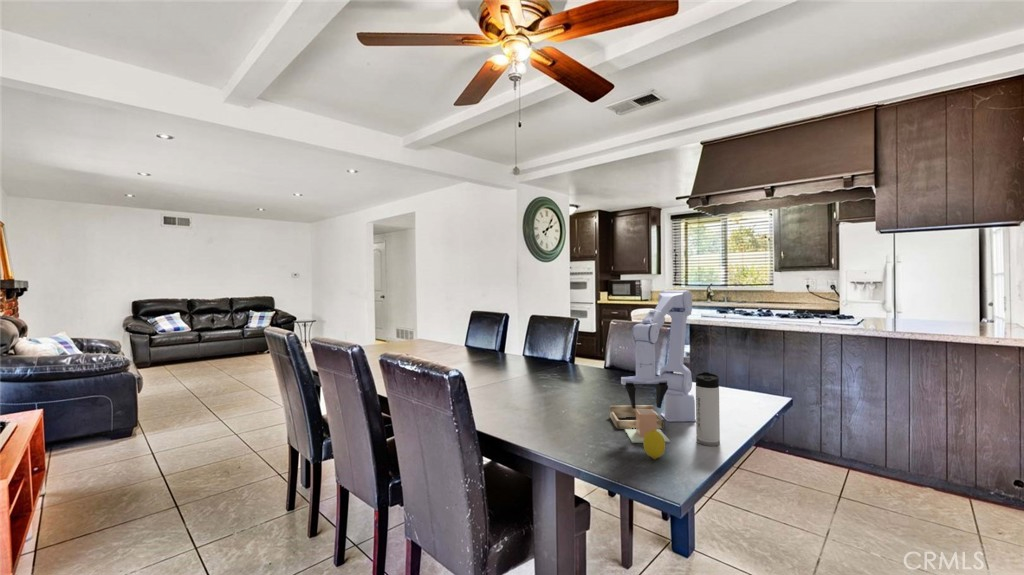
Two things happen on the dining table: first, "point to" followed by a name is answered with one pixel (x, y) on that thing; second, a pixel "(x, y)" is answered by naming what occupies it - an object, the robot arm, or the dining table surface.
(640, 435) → the tan upright block
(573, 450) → the dining table surface
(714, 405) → the travel mug
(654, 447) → the lemon
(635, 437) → the mat
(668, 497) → the dining table surface
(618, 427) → the frame
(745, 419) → the dining table surface
